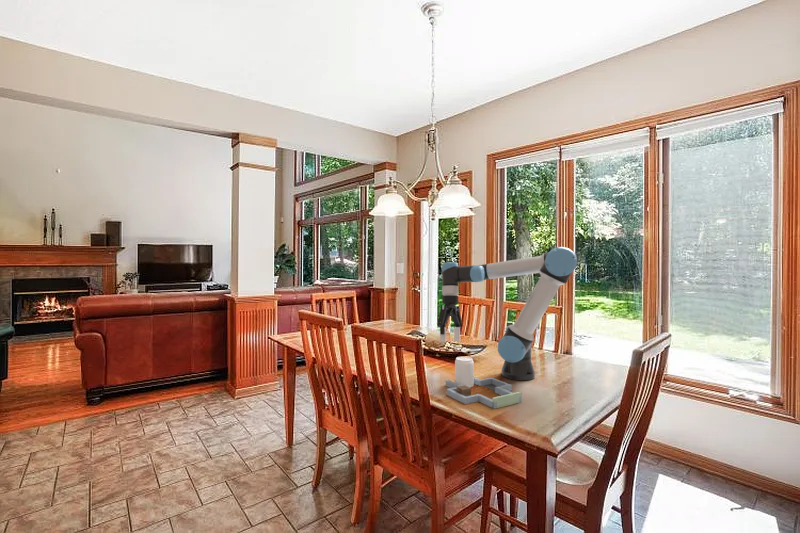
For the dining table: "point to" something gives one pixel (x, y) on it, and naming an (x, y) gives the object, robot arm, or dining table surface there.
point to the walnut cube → (464, 390)
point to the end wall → (507, 399)
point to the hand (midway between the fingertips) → (450, 341)
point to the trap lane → (490, 383)
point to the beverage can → (464, 371)
